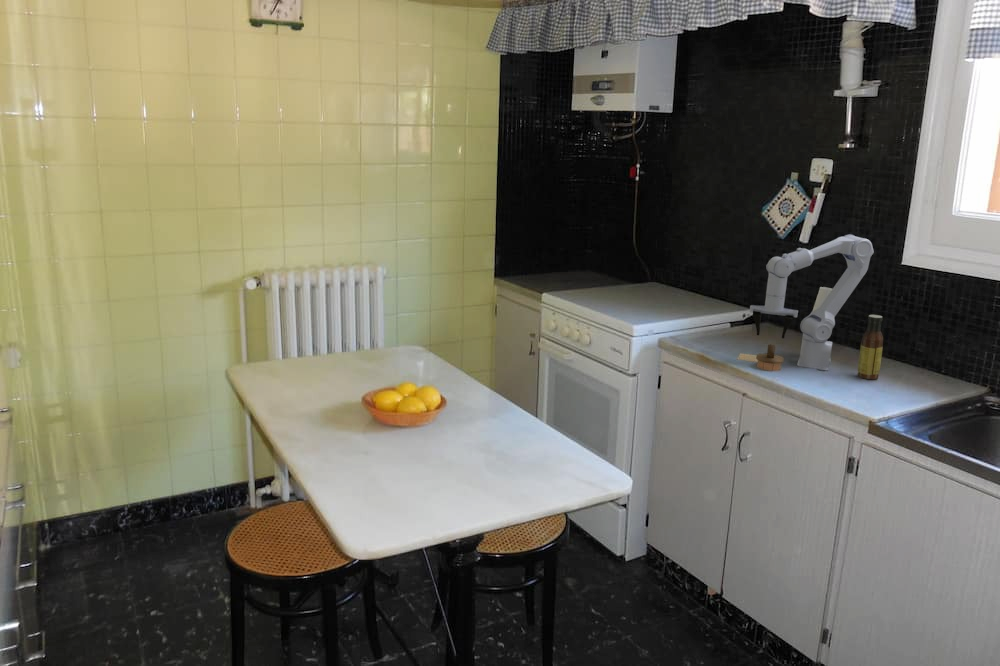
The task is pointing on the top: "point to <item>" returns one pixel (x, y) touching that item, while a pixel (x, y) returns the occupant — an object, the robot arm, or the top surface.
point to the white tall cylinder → (821, 296)
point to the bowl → (768, 366)
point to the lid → (770, 356)
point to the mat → (747, 357)
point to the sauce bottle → (871, 349)
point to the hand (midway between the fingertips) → (770, 336)
